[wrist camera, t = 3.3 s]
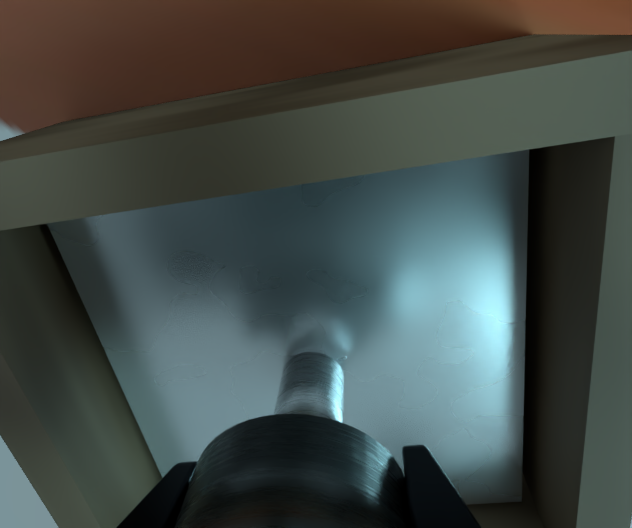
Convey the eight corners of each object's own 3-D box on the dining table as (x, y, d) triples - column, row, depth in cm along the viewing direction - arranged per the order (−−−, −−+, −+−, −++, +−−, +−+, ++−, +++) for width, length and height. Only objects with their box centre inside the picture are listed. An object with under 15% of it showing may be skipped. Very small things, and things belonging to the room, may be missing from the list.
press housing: (534, 34, 11) (716, 35, 5) (525, 420, 16) (613, 617, 11) (63, 121, 12) (-156, 188, 7) (192, 446, 18) (122, 628, 12)
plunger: (514, 131, 9) (898, 362, 3) (511, 474, 13) (661, 887, 7) (65, 203, 10) (-383, 470, 4) (190, 494, 14) (64, 855, 8)
